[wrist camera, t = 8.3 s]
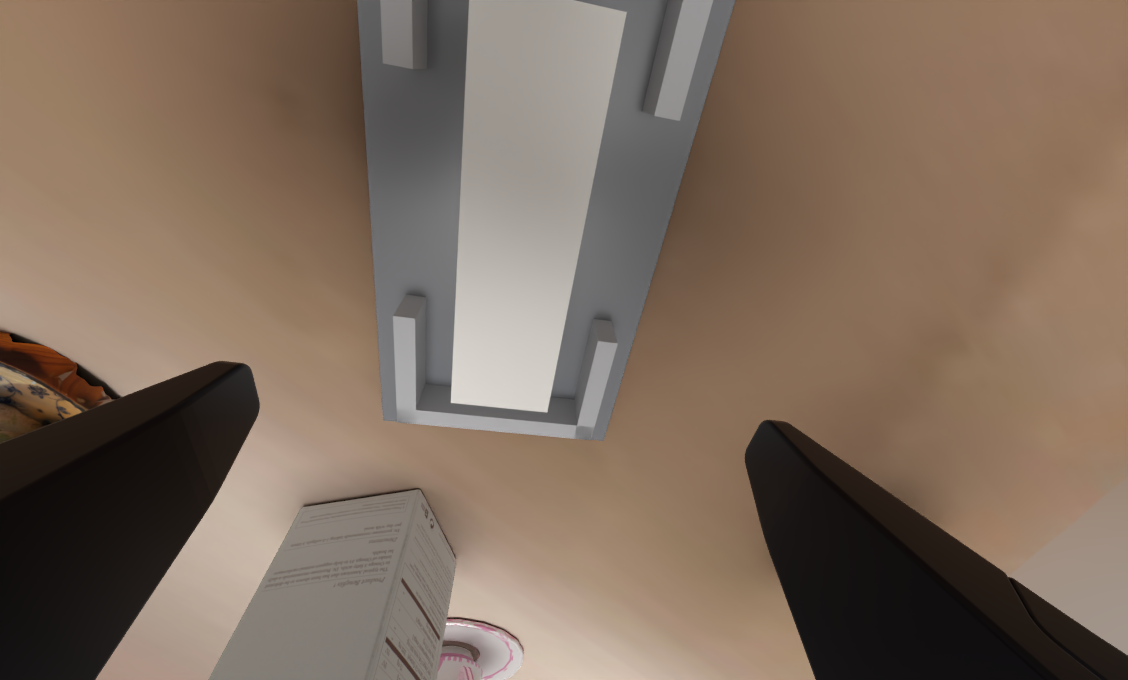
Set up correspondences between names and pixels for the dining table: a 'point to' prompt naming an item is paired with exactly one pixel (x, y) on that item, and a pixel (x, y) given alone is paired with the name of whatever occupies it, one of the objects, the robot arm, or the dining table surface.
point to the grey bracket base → (432, 202)
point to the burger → (39, 388)
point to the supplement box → (349, 597)
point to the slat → (525, 188)
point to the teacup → (495, 649)
